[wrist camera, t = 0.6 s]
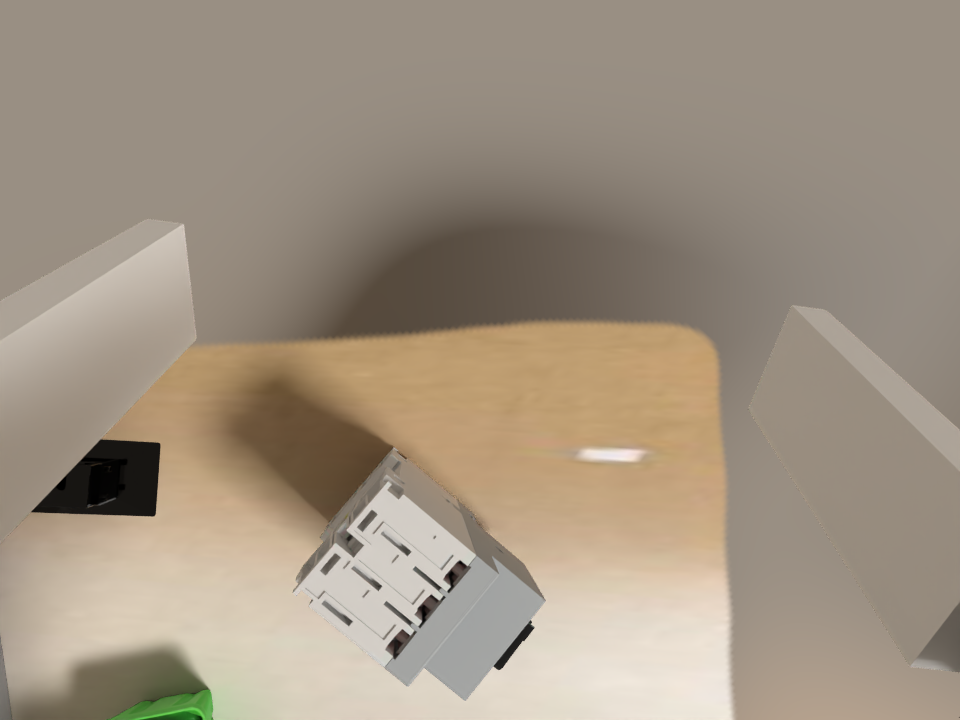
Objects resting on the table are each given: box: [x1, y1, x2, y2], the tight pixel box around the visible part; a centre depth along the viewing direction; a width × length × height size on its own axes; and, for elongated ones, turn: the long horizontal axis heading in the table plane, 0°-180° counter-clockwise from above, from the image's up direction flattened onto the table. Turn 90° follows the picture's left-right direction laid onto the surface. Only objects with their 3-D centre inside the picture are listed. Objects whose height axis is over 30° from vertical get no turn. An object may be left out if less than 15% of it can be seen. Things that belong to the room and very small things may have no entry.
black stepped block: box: [31, 440, 160, 516], centre depth 43 cm, size 12×7×5 cm, turn 86°
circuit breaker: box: [293, 447, 546, 701], centre depth 40 cm, size 8×14×15 cm, turn 49°
